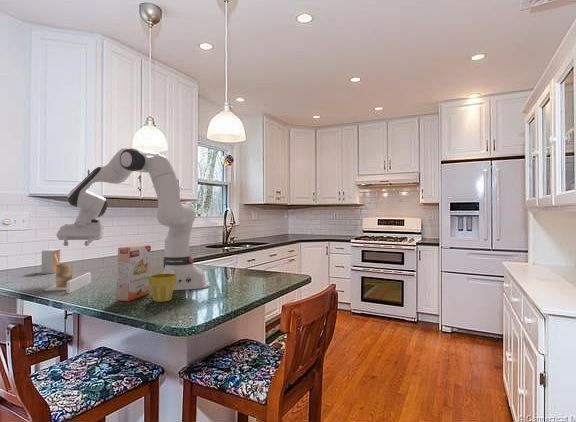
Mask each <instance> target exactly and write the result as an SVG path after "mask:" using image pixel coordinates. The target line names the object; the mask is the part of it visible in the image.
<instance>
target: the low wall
mask: <svg viewBox="0 0 576 422" xmlns="http://www.w3.org/2000/svg"><path fill="white" fill-rule="evenodd" d="M91 283H92V272H86V273H84V274H81V275H80V276H77V277H74V278H72V280H70V281H67V290H66V294H67V293H69V294H72V293H73V291H74V292H75V290H76V291H77V290H79V289H82V288H83V287H85V286H87V285H89V284H91ZM71 292H72V293H71Z"/></svg>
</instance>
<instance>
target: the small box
mask: <svg viewBox="0 0 576 422" xmlns="http://www.w3.org/2000/svg"><path fill="white" fill-rule="evenodd" d="M60 253H61V249H60V248H55V249H54V248H49V249H43V250H41V272H40V273H41V274H54V273H56V265H59V264H60V261H61V260H60V258H61V257H60Z"/></svg>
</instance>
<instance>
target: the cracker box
mask: <svg viewBox="0 0 576 422" xmlns="http://www.w3.org/2000/svg"><path fill="white" fill-rule="evenodd" d="M151 251H152V246H151V245H147V244H143V245H142V244H141V245H140V244H139V245H129V246H123V247H118V248H117V270H116V271H117V275H116V301H119V302H130V301H133V300H135V299H138V298H139V299H140V298H141V297H145V296H147V295H149V294H150V293H151V286H150V285H149V276H150V275H151V256H152V255H151V254H152V252H151Z"/></svg>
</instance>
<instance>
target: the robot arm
mask: <svg viewBox="0 0 576 422" xmlns="http://www.w3.org/2000/svg"><path fill="white" fill-rule="evenodd" d="M132 172H139V173H148V174H149V177H150V179H151V183H152V186H153V188H154V192H155V193H156V197H157V208H158V209H157V212H156V219H157V221H158V222H159V224H160V225H163V226H164V227H167V228H169V229H168V232H167V235H166V237H165V239H164V256H163V259H162V260H163V261H162V267H163V272H162V274H176V283H175V284H174V289H173V291H181V290H198V289H206V288H209V287H210V285H211V282H210V281H208V280H206V275H205V272H204V271H203V270H202V269H201V268H199V266H197V265H196V264H194V261H195V259H194V257H192V256H190V238H191V232H192V229H193V224H194V222H195V220H196V211H195V210H194V208H193V207H192V206H189V204H183V203H182V201H181V196H180V195H181V187H180V184H179V181H178V179H177V176H176V173H175V171H174V169H173V166H172V164H171V162H170V161H169V159H168V158H167V156H166V155H163V154H162V155H161V154H160V152H157V151H154V150H149V149H144V148H126V147H125V148H121V149H119V150H118V151H117V152H116V153H115V154H114V156H113V157H112V158H111V159H110V160H109V162H108V163H107V164H106V165H103V166H97V167H96V168H94V169H93V170H91V172H90V173H89V174H88V175H87V176H86V177H84V178H83V180H82V181H81V182H79V184H77V185H76V186H75V187H74V188H72V190H70V191H69V193H68V195H67V197H66V198H67V202H68V205H70V206H72V207H75V208H78V209H79V212H78V215H77V216H76V218H75V221H74V223H73V224H72V223H71V224H67V223H65V224H63V225H61V226H60V228H59V230H58V231H57V232H56V237H57V239H58V241H59V240H60V241H63V243H62V244H63V247H68V246H69V242H68V241H84V244H83V245H84V246H86V247H89V245H90V244H91V243H92V242H93V241H101V239H102V238H103V234H104V233H103V229H104V227H103V223H102V222H101V220H100V219H98V218H100V217H102V216H104V214H105V213H106V210H107V209H108V208H107V207H108V205H109V202H108V200H107V198H105V197H103V196H101V195H98V194H97V193H96V194H95V193H94V192H91V191H89V190H88V189H89V188H90V187H91V186H92V185H93V184H95V183H99V182H100V183H109V184H114V185H115V184H116V185H117V184H121V183H123V182H126V180H127V179H128V178H129V177H130V175H131V174H132Z"/></svg>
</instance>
